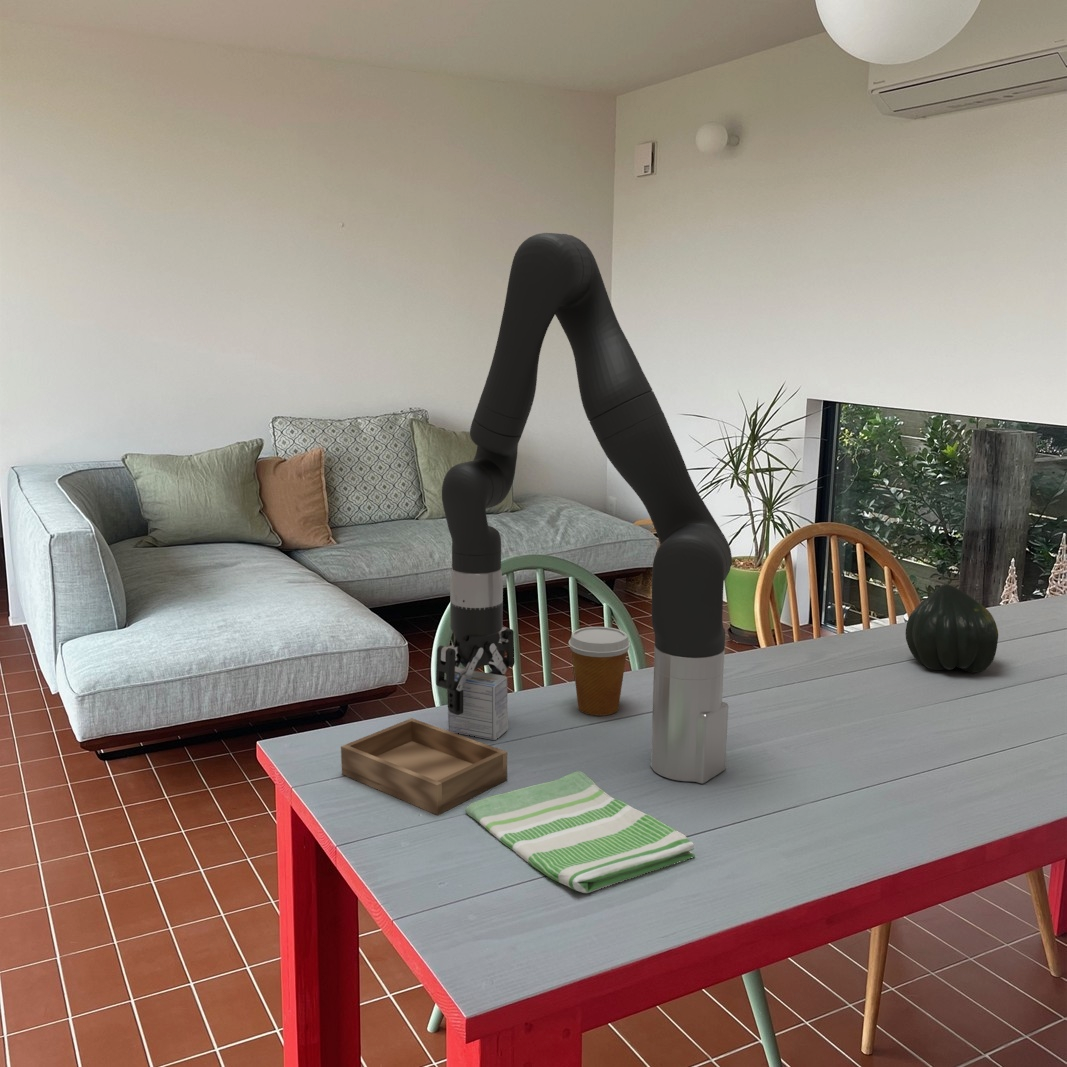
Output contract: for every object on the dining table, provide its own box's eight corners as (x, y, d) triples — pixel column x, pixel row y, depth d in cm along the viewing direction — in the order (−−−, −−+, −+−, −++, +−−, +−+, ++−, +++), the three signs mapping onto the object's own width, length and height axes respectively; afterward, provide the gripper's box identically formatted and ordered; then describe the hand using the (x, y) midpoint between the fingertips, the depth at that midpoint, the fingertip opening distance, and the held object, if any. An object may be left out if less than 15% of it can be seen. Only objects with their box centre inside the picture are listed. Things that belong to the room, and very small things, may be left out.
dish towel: (582, 783, 140) (583, 764, 139) (700, 860, 121) (701, 838, 120) (464, 817, 130) (464, 796, 130) (571, 906, 111) (571, 882, 111)
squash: (994, 659, 172) (1001, 578, 179) (898, 649, 178) (908, 572, 185) (994, 693, 183) (1000, 616, 190) (904, 683, 190) (913, 609, 196)
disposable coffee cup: (624, 722, 159) (626, 646, 157) (562, 717, 161) (563, 642, 159) (631, 699, 168) (633, 627, 166) (573, 695, 170) (574, 624, 168)
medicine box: (508, 731, 156) (508, 675, 154) (495, 742, 152) (494, 685, 150) (461, 722, 159) (461, 667, 157) (447, 732, 155) (446, 677, 153)
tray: (507, 780, 140) (507, 751, 139) (437, 815, 130) (437, 785, 129) (412, 744, 151) (411, 718, 150) (341, 774, 141) (340, 746, 140)
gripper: (461, 614, 143) (461, 726, 147) (528, 593, 154) (527, 698, 158) (422, 603, 148) (423, 712, 152) (490, 584, 159) (489, 686, 162)
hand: (476, 705), depth 155 cm, fingers open, 8 cm apart
